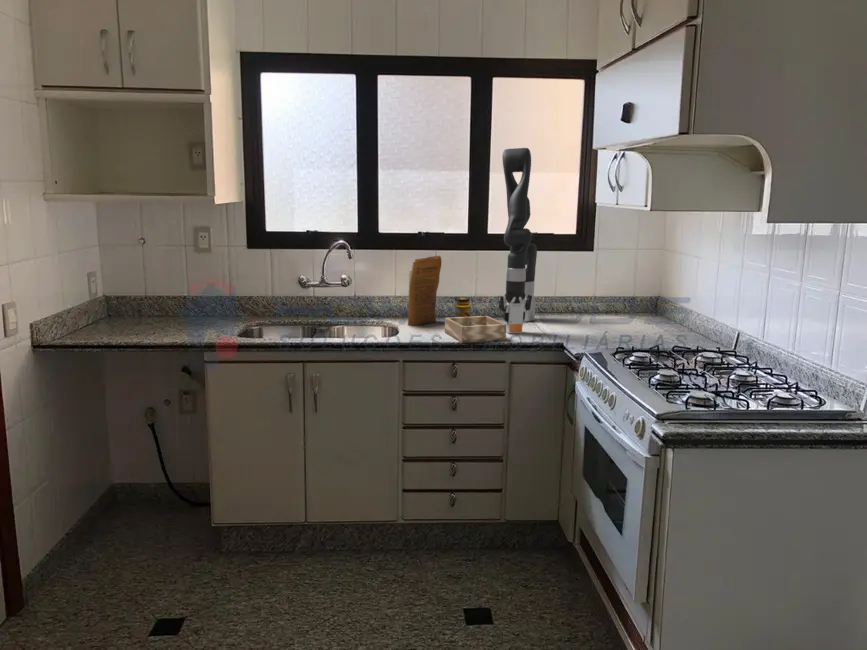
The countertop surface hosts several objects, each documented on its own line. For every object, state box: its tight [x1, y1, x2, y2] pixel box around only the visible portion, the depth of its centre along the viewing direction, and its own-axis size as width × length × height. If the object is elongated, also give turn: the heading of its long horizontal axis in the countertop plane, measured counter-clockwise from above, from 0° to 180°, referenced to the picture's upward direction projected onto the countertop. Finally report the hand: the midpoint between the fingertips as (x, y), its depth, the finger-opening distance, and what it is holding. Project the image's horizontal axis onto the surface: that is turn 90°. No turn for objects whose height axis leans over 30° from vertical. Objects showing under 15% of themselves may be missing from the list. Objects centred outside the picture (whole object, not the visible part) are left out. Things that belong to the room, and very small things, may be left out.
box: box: [444, 315, 507, 344], centre depth 279 cm, size 18×18×6 cm
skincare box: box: [504, 303, 524, 334], centre depth 287 cm, size 6×4×12 cm
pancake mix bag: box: [407, 255, 442, 326], centre depth 300 cm, size 7×19×28 cm, turn 135°
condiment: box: [454, 297, 471, 317], centre depth 295 cm, size 7×8×12 cm
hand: (514, 321), depth 287 cm, fingers closed on skincare box, 6 cm apart
